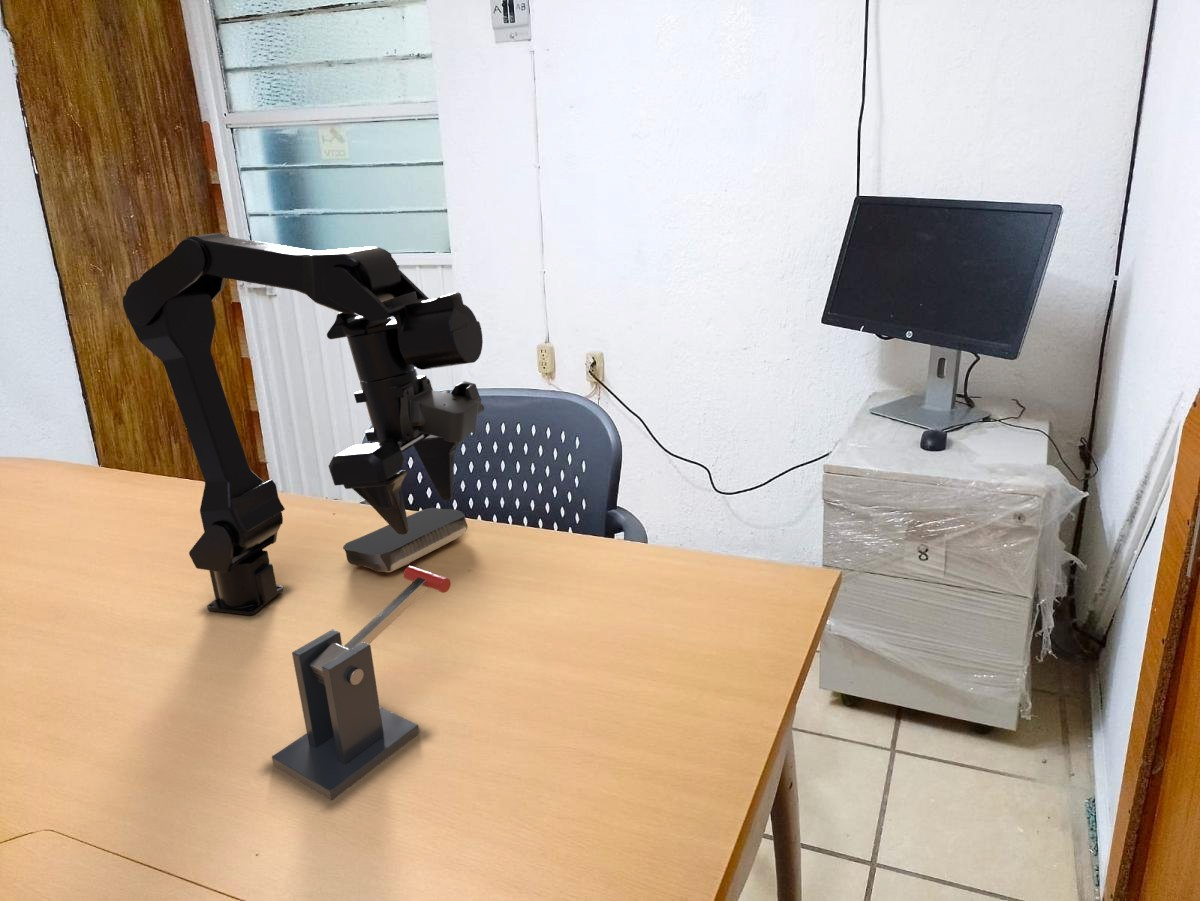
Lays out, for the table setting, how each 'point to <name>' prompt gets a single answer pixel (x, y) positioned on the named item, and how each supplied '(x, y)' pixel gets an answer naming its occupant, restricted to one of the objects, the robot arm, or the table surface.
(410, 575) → the lever
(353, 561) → the whiteboard eraser
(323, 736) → the bracket
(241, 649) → the table surface
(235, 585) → the robot arm
